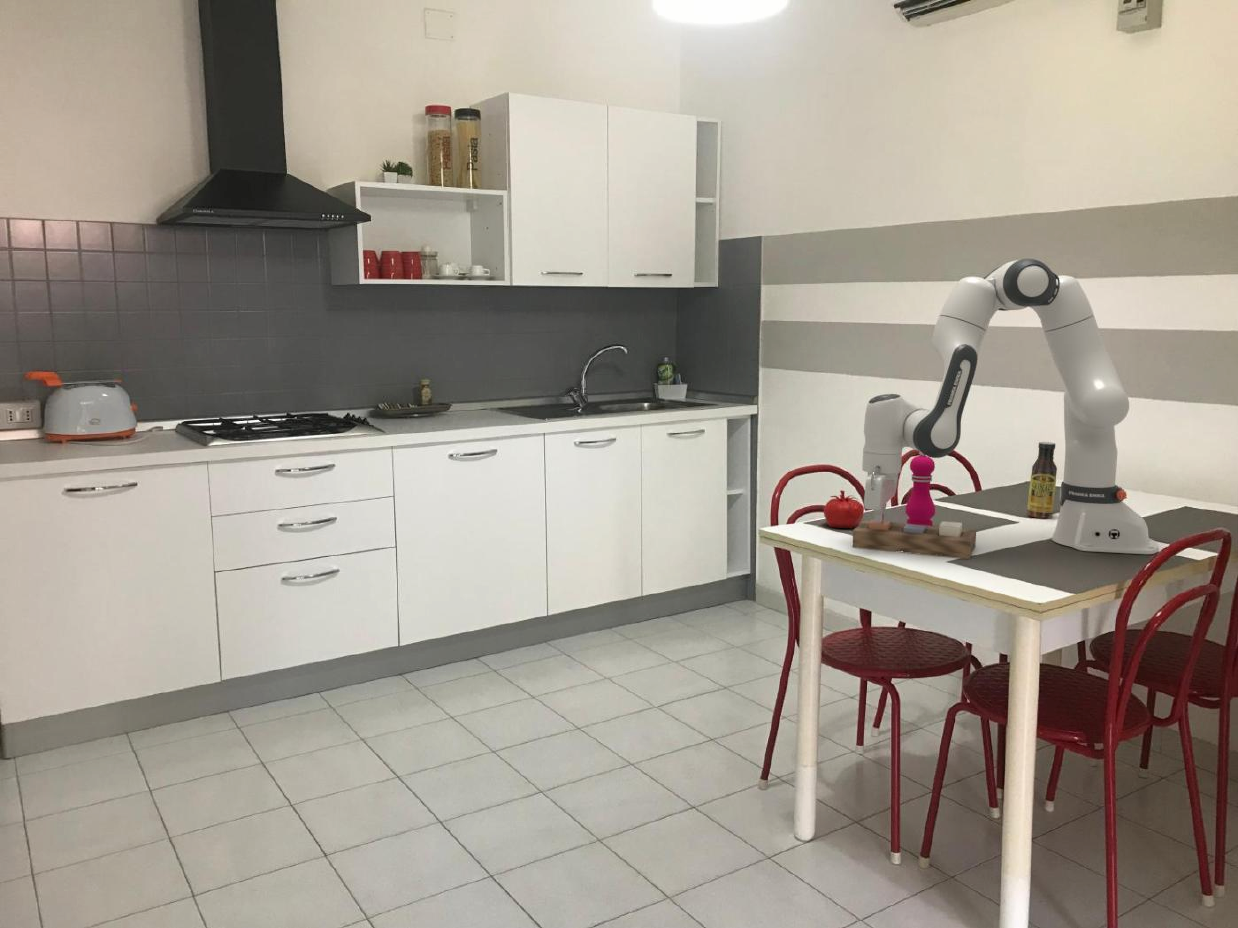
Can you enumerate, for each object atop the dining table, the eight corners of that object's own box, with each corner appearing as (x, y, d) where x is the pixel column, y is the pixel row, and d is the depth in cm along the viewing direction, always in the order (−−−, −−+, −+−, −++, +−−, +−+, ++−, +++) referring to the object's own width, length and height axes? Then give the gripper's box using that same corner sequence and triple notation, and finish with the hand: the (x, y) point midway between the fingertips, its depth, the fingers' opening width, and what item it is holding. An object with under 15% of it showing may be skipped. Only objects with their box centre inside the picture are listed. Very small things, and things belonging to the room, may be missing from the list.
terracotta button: (890, 535, 238) (891, 520, 238) (887, 539, 234) (887, 524, 234) (872, 533, 240) (872, 519, 240) (868, 537, 236) (868, 522, 236)
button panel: (975, 546, 234) (976, 530, 233) (969, 558, 223) (970, 541, 223) (863, 535, 245) (863, 520, 244) (852, 547, 234) (853, 530, 234)
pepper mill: (935, 531, 249) (939, 452, 246) (905, 530, 251) (909, 451, 248) (932, 524, 256) (936, 447, 253) (903, 523, 258) (907, 447, 255)
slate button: (925, 540, 235) (926, 525, 234) (922, 544, 231) (923, 529, 230) (906, 538, 237) (906, 523, 236) (902, 542, 233) (903, 527, 232)
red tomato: (860, 532, 250) (862, 496, 248) (820, 528, 253) (821, 493, 251) (865, 523, 259) (867, 488, 257) (826, 519, 262) (827, 485, 261)
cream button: (961, 537, 231) (962, 522, 231) (958, 541, 227) (959, 526, 227) (941, 535, 233) (942, 521, 233) (938, 540, 229) (939, 525, 229)
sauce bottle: (1026, 518, 264) (1031, 443, 260) (1026, 513, 270) (1031, 440, 266) (1053, 520, 261) (1059, 444, 258) (1053, 515, 267) (1058, 441, 264)
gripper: (887, 471, 224) (884, 532, 226) (903, 458, 242) (900, 514, 244) (858, 469, 227) (856, 529, 229) (876, 456, 245) (874, 512, 247)
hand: (879, 521), depth 237 cm, fingers closed
